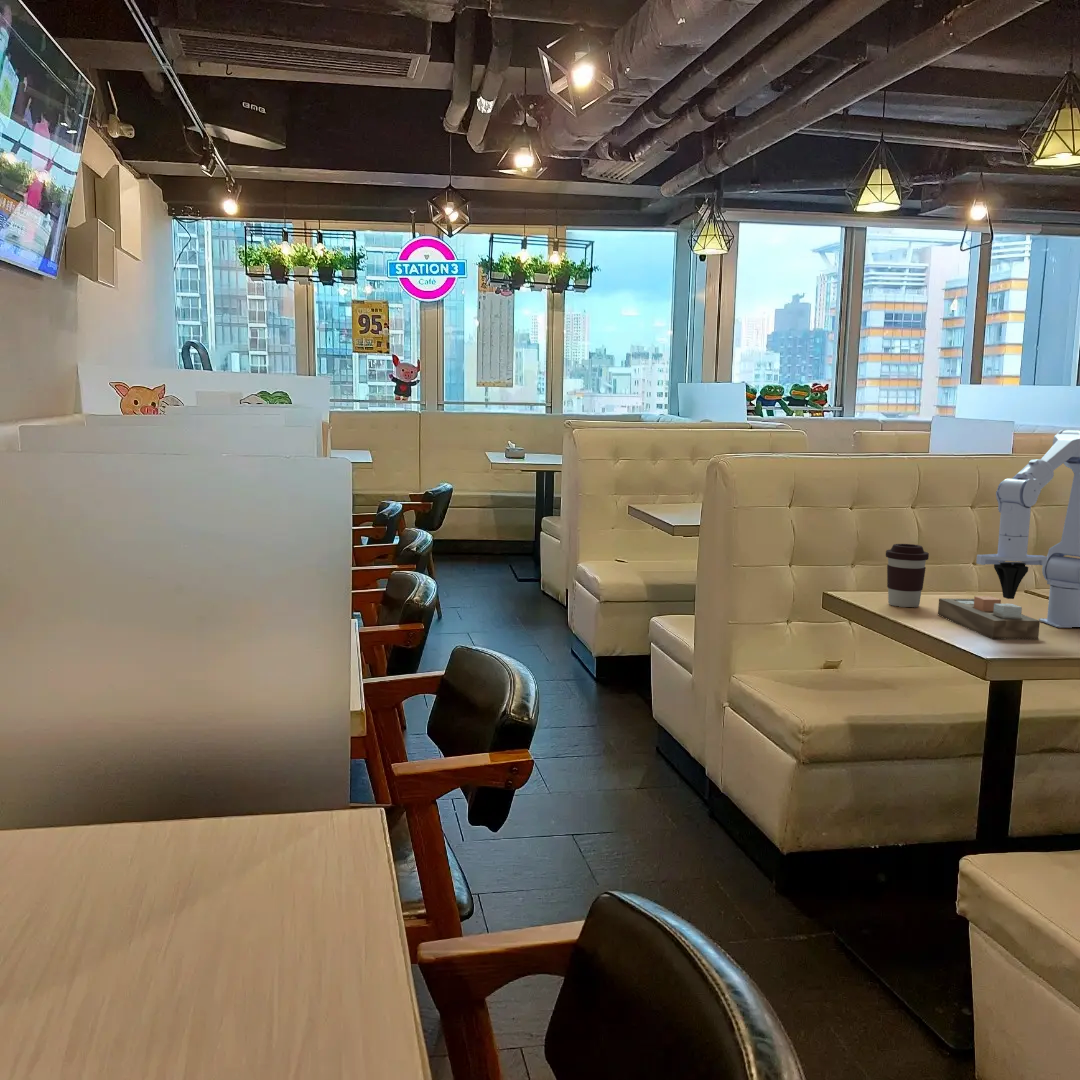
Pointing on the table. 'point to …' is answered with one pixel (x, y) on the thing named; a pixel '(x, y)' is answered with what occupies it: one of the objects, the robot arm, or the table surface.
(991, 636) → the block
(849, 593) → the table surface
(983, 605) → the orange square block
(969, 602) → the steel plunger
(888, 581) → the coffee cup
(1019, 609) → the pale grey square block
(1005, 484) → the robot arm
